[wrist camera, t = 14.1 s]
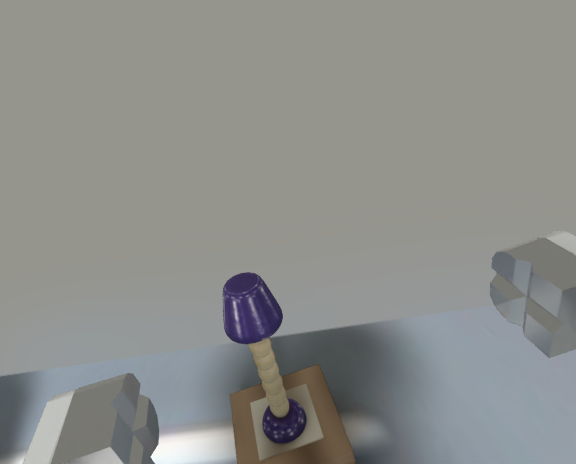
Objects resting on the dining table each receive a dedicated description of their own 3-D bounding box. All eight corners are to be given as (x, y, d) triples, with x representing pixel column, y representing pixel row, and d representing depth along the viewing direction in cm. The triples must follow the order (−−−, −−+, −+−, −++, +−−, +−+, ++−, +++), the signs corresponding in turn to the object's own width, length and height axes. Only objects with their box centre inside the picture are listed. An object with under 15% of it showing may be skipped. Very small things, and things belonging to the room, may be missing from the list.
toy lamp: (269, 396, 38) (221, 266, 30) (314, 397, 37) (277, 262, 29) (258, 443, 34) (199, 307, 26) (307, 446, 33) (262, 305, 25)
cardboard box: (255, 521, 34) (239, 492, 31) (242, 422, 42) (229, 393, 40) (359, 481, 35) (352, 450, 32) (326, 392, 43) (318, 362, 41)
